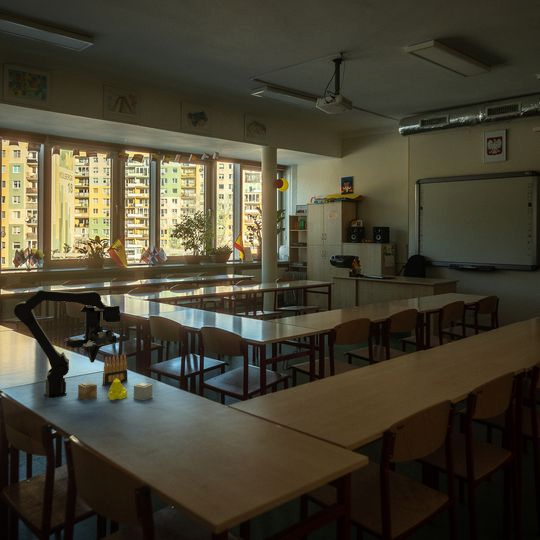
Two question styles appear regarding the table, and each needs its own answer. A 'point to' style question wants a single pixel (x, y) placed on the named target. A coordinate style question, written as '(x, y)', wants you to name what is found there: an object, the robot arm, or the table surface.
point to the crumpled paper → (117, 390)
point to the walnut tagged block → (87, 391)
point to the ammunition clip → (115, 370)
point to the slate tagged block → (142, 391)
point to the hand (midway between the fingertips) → (92, 362)
